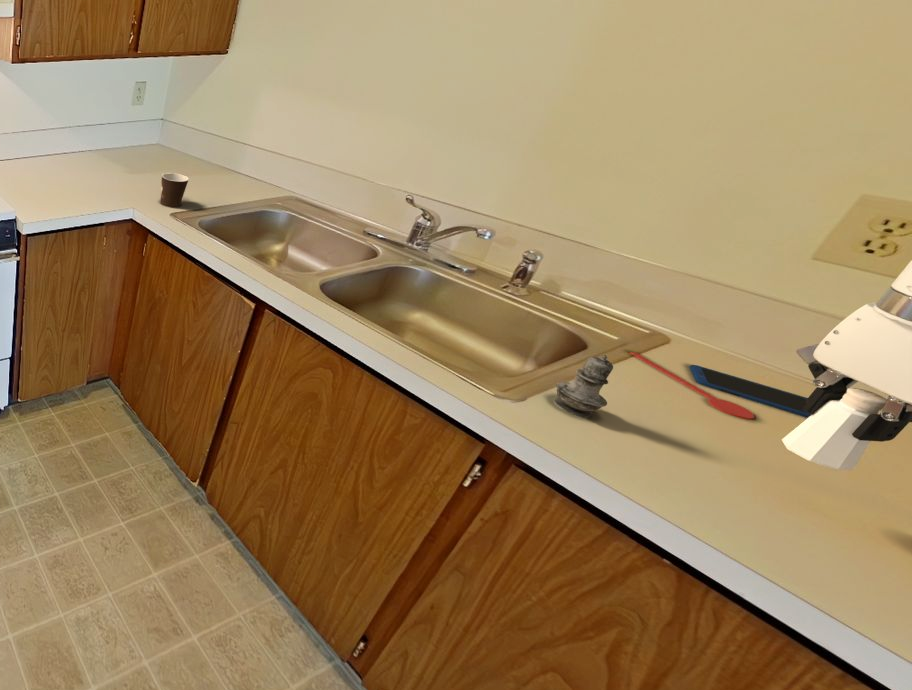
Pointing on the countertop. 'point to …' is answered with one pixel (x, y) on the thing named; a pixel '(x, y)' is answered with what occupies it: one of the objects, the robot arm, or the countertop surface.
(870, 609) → the countertop surface
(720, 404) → the spoon
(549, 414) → the countertop surface
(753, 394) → the cell phone
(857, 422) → the pepper shaker
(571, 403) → the grey chess piece
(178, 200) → the coffee mug
